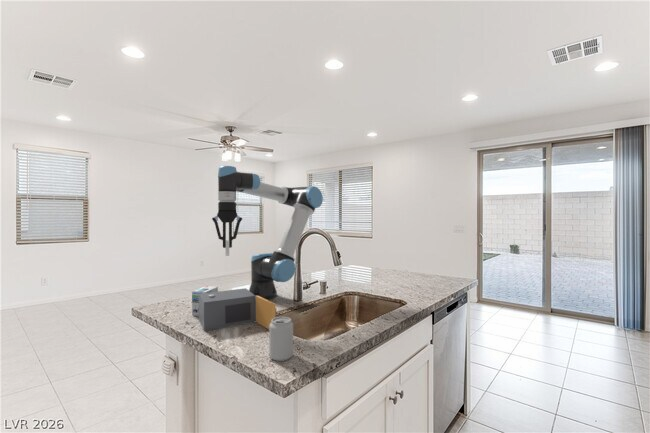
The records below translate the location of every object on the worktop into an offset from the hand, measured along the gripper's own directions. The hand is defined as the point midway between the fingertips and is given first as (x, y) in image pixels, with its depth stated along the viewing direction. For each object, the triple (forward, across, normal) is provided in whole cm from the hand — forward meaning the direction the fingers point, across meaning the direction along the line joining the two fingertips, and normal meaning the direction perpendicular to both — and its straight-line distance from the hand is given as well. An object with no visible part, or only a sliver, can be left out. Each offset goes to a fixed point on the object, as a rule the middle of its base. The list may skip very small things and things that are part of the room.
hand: (227, 255), depth 139 cm
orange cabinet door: (+26, +14, -20) cm, 36 cm away
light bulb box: (+27, -9, +6) cm, 29 cm away
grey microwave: (+26, -1, -8) cm, 28 cm away
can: (+27, +14, -47) cm, 56 cm away
